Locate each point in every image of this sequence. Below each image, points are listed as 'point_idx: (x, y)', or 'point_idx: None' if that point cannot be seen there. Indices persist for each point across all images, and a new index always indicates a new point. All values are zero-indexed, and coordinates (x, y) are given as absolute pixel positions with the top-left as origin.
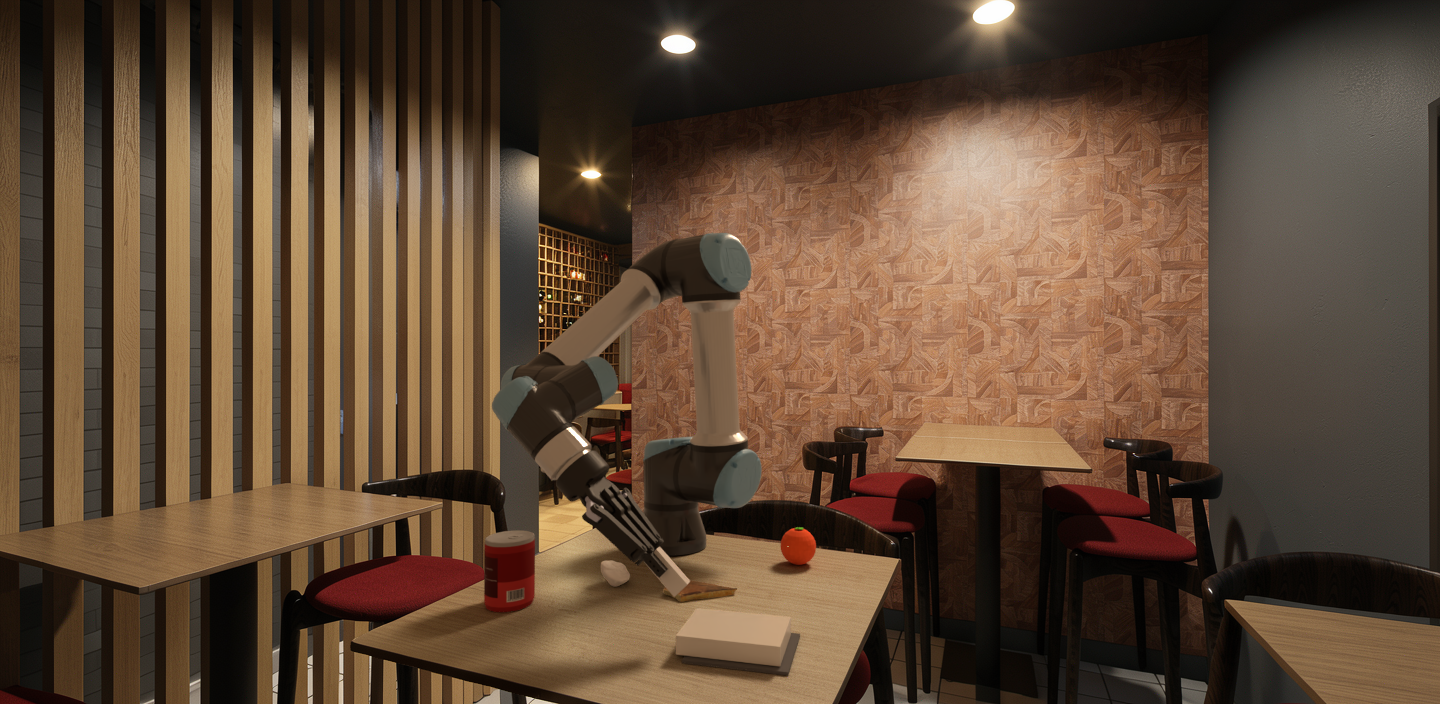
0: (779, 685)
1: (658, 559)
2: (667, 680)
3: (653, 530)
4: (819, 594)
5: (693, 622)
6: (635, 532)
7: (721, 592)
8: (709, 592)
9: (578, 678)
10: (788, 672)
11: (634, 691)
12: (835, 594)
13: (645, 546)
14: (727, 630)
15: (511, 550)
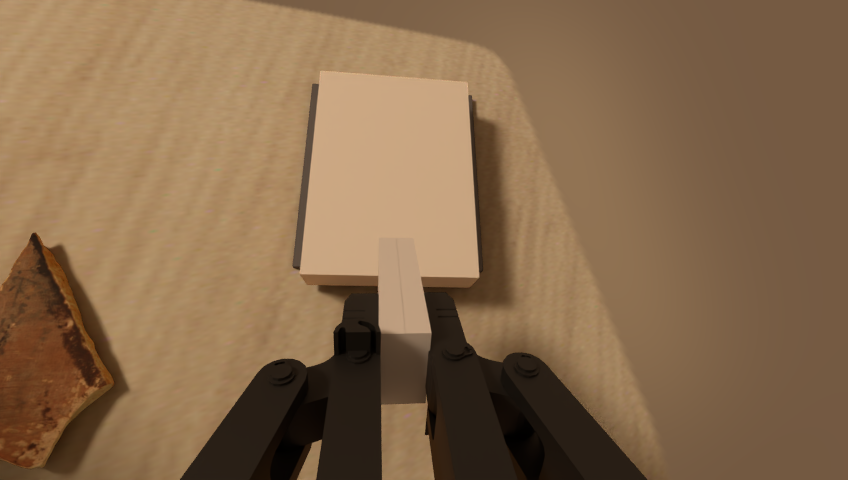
0: (503, 109)
1: (433, 324)
2: (551, 279)
3: (267, 409)
4: (56, 56)
5: None
6: (508, 452)
7: (57, 274)
8: (70, 303)
9: None
10: (470, 95)
11: (608, 324)
12: (57, 27)
13: (503, 367)
14: (422, 177)
15: None
